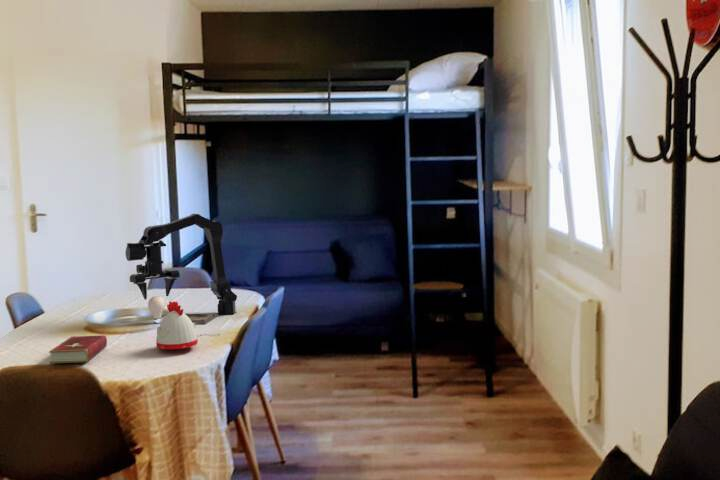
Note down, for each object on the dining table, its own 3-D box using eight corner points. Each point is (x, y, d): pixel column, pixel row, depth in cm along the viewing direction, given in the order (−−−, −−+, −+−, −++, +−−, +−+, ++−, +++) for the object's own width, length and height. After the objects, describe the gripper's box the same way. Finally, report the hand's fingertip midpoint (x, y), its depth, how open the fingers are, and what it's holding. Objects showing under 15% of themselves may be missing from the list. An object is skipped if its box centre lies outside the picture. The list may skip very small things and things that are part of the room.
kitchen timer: (181, 337, 263) (179, 296, 262) (205, 342, 255) (203, 300, 253) (148, 345, 253) (146, 303, 251) (172, 351, 244) (170, 306, 243)
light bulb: (147, 325, 285) (145, 298, 284) (150, 322, 292) (149, 295, 291) (164, 324, 286) (163, 297, 285) (167, 321, 292) (166, 294, 291)
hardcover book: (107, 346, 255) (106, 334, 255) (88, 362, 234) (87, 349, 234) (72, 347, 255) (71, 335, 254) (50, 363, 234) (49, 350, 233)
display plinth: (217, 316, 299) (217, 313, 299) (205, 324, 285) (205, 320, 285) (184, 316, 301) (184, 313, 301) (171, 324, 287) (170, 320, 287)
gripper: (166, 254, 299) (168, 292, 300) (122, 259, 286) (125, 298, 288) (179, 256, 290) (181, 295, 292) (134, 261, 278) (137, 302, 279)
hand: (156, 297), depth 288 cm, fingers open, 9 cm apart
